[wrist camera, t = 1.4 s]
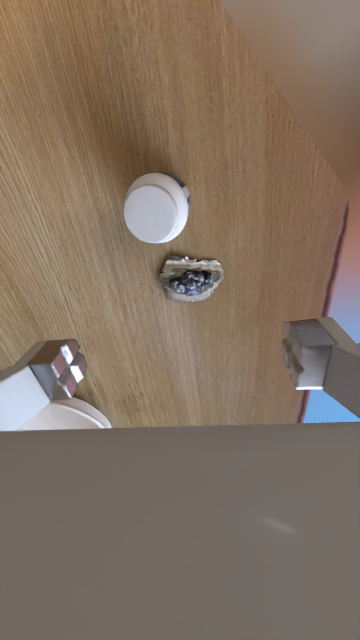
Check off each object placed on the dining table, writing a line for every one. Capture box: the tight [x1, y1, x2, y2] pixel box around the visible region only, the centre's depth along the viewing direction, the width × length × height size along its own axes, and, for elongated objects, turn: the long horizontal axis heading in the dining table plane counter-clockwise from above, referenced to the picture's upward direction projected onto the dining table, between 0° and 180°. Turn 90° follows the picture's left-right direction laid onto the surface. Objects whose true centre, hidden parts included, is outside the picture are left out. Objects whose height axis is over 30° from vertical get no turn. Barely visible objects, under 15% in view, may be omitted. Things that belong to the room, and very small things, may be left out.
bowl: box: [17, 397, 112, 431], centre depth 43 cm, size 20×20×6 cm
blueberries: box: [159, 256, 225, 302], centre depth 29 cm, size 7×8×2 cm
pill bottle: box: [123, 173, 191, 243], centre depth 22 cm, size 5×5×10 cm
